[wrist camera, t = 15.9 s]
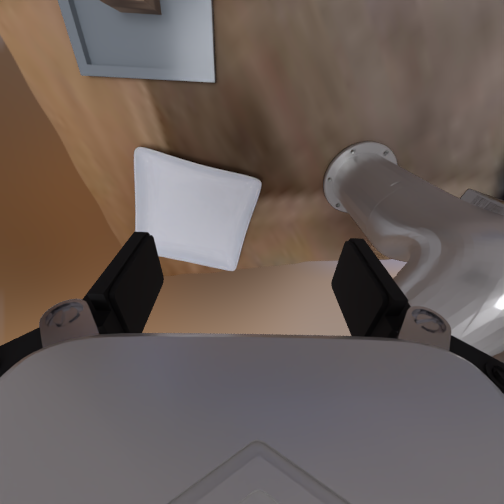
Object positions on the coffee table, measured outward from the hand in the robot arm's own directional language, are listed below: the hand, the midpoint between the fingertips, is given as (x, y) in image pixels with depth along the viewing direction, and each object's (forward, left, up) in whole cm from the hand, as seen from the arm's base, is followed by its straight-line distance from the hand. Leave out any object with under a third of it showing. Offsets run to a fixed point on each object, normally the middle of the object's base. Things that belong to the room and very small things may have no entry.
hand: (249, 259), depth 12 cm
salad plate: (+10, +14, -33) cm, 37 cm away
